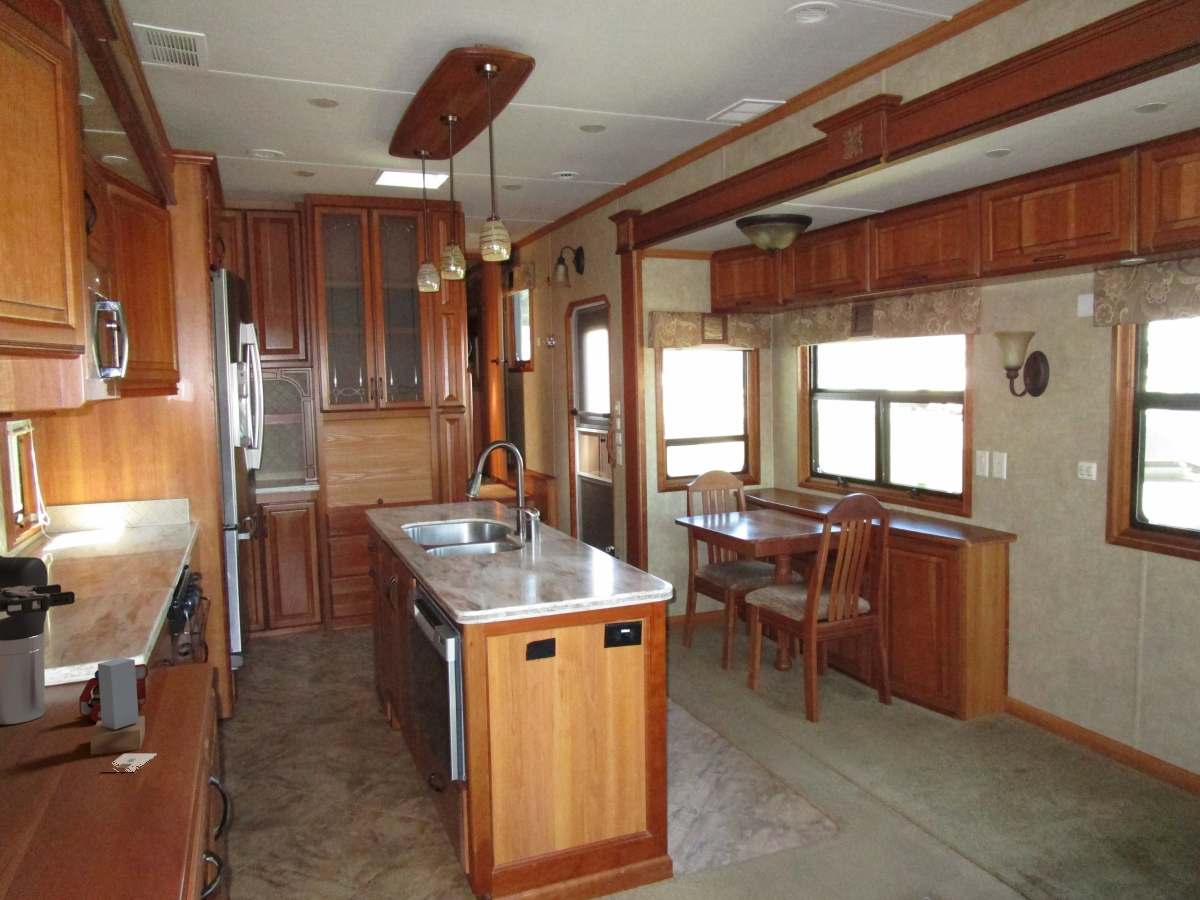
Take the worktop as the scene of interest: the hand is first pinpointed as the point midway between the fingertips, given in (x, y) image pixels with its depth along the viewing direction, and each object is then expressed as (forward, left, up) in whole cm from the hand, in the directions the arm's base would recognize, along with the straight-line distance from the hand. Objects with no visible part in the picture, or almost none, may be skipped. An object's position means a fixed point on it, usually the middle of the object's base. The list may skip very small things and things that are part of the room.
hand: (67, 593), depth 153 cm
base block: (+7, +5, -30) cm, 31 cm away
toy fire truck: (-2, +20, -30) cm, 36 cm away
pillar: (+7, +5, -26) cm, 27 cm away
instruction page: (+13, -4, -30) cm, 33 cm away
